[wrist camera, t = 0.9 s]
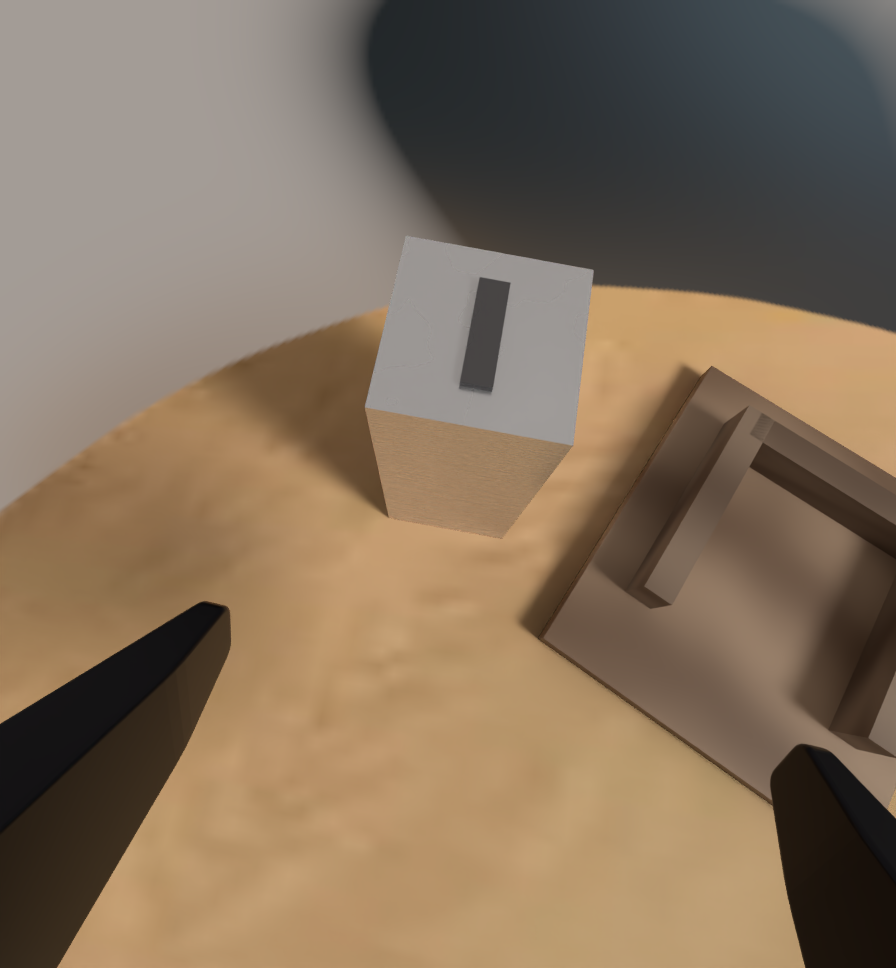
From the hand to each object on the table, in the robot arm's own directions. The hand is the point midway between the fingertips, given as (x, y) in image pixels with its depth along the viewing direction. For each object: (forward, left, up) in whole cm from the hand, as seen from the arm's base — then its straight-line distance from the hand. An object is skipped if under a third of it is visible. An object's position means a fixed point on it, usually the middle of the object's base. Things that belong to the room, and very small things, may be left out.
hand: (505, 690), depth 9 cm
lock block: (+6, +6, -14) cm, 17 cm away
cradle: (+12, -7, -14) cm, 20 cm away
